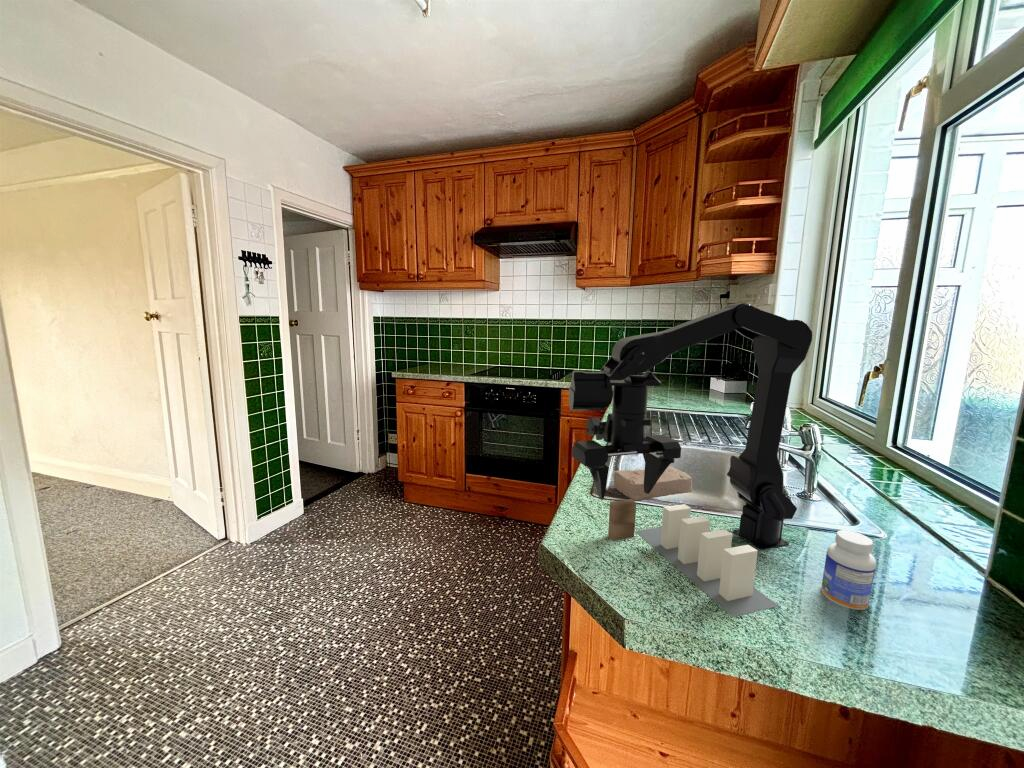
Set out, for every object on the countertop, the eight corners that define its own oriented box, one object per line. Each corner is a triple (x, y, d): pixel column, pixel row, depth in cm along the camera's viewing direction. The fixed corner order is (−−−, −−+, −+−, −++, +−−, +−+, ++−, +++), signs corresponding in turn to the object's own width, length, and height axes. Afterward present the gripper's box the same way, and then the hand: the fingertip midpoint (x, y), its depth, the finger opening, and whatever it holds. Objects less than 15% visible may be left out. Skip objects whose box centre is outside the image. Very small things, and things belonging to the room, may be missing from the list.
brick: (669, 481, 102) (670, 463, 101) (693, 494, 94) (695, 475, 93) (611, 489, 97) (612, 470, 96) (632, 504, 89) (633, 484, 88)
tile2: (681, 540, 73) (684, 504, 72) (687, 545, 71) (691, 508, 70) (660, 544, 72) (663, 506, 71) (666, 549, 70) (669, 511, 69)
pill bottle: (821, 582, 63) (830, 523, 61) (868, 597, 59) (878, 535, 58) (819, 600, 58) (829, 537, 57) (869, 618, 55) (880, 552, 53)
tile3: (699, 554, 69) (703, 515, 68) (706, 560, 67) (710, 520, 66) (677, 558, 67) (680, 519, 66) (684, 564, 66) (687, 523, 65)
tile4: (719, 570, 64) (724, 529, 63) (727, 576, 63) (732, 534, 62) (696, 575, 63) (700, 533, 62) (704, 581, 62) (708, 538, 61)
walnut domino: (629, 534, 76) (631, 499, 75) (634, 539, 74) (636, 502, 73) (607, 537, 74) (610, 501, 73) (612, 542, 73) (614, 505, 72)
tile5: (743, 588, 60) (748, 544, 59) (752, 595, 59) (757, 550, 58) (718, 593, 59) (723, 549, 58) (727, 601, 57) (732, 555, 56)
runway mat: (671, 527, 78) (671, 525, 78) (778, 608, 57) (779, 605, 57) (634, 532, 76) (634, 530, 76) (732, 619, 54) (732, 616, 54)
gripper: (648, 399, 81) (643, 474, 83) (560, 403, 75) (558, 483, 78) (686, 411, 70) (679, 497, 73) (588, 418, 65) (584, 509, 67)
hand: (624, 495), depth 73 cm, fingers open, 9 cm apart
